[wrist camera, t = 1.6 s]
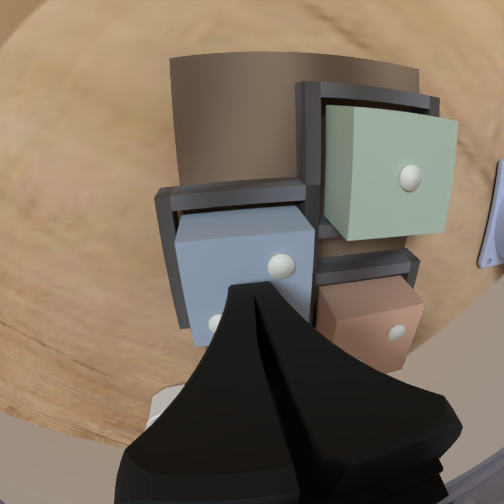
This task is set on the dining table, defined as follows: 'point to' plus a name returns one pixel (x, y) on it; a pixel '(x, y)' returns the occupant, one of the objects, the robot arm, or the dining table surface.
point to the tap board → (277, 150)
